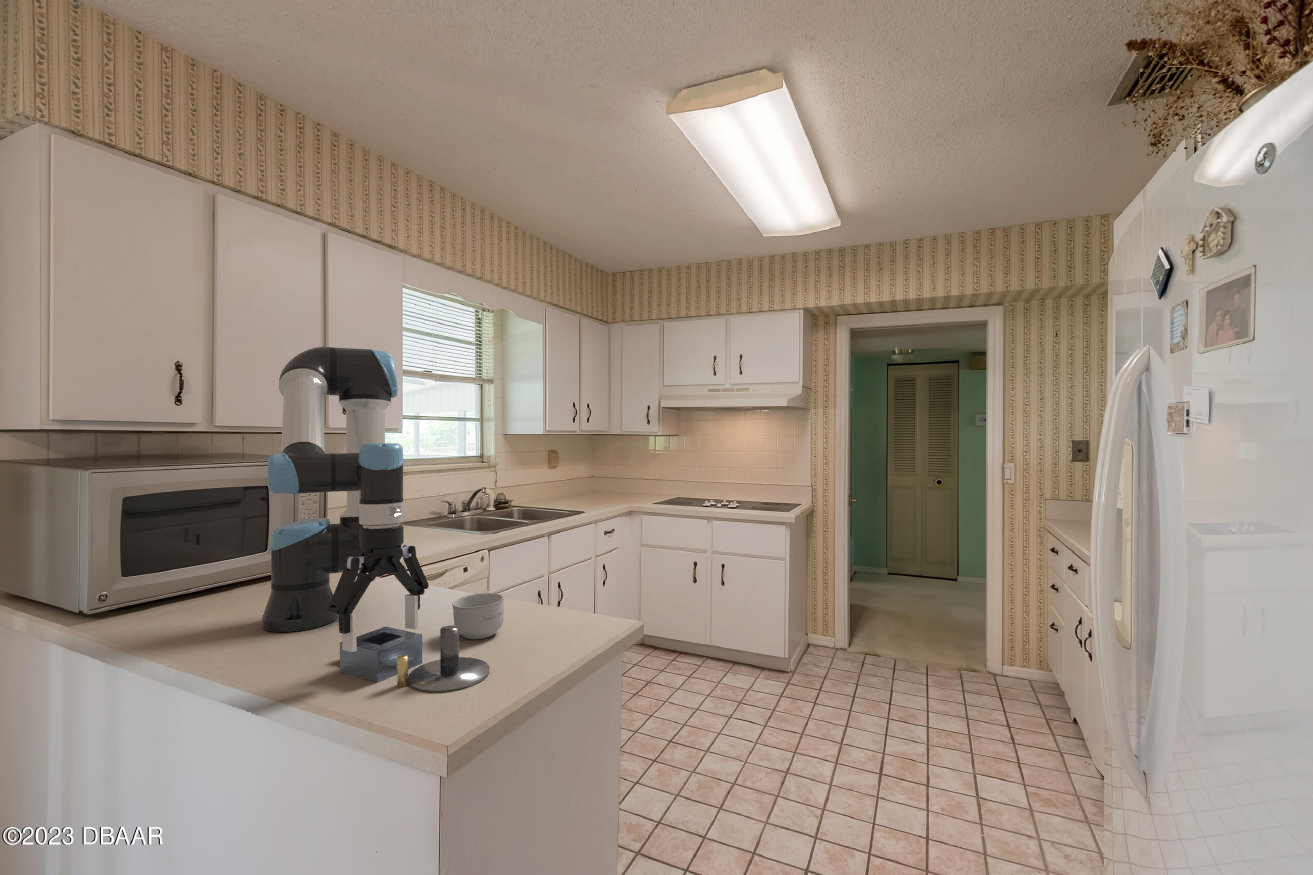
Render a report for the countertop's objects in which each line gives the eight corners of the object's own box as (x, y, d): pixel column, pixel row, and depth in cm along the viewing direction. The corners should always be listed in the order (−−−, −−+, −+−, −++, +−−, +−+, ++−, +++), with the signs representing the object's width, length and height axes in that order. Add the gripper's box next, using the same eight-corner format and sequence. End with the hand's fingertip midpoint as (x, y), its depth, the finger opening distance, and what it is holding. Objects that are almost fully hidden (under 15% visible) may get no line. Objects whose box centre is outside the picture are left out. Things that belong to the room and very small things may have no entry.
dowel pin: (394, 686, 103) (394, 657, 103) (403, 682, 105) (403, 654, 105) (401, 688, 103) (401, 659, 103) (410, 684, 104) (410, 655, 104)
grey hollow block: (422, 662, 114) (422, 634, 114) (377, 682, 105) (377, 651, 105) (368, 649, 120) (368, 622, 120) (322, 667, 111) (321, 638, 111)
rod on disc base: (390, 682, 105) (390, 634, 105) (449, 655, 118) (449, 612, 117) (449, 698, 99) (449, 647, 99) (505, 668, 111) (505, 622, 111)
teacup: (489, 645, 123) (489, 607, 123) (442, 641, 125) (442, 603, 125) (518, 624, 137) (518, 589, 137) (475, 620, 139) (475, 586, 139)
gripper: (333, 536, 98) (333, 664, 98) (446, 518, 121) (447, 622, 121) (304, 533, 102) (304, 657, 101) (420, 516, 124) (420, 617, 124)
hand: (382, 638), depth 111 cm, fingers open, 13 cm apart
